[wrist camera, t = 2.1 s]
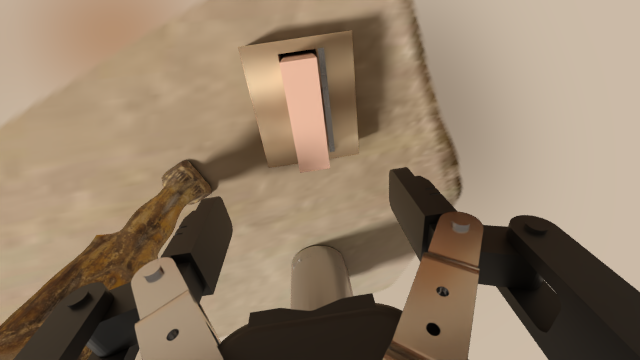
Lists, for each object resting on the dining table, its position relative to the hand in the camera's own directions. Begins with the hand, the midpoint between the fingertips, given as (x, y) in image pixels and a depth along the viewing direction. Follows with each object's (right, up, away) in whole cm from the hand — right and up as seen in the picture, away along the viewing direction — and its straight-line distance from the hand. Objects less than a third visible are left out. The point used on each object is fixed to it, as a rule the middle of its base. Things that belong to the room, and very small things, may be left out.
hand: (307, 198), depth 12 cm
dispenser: (-1, +11, +19) cm, 22 cm away
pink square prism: (-1, +11, +19) cm, 22 cm away
